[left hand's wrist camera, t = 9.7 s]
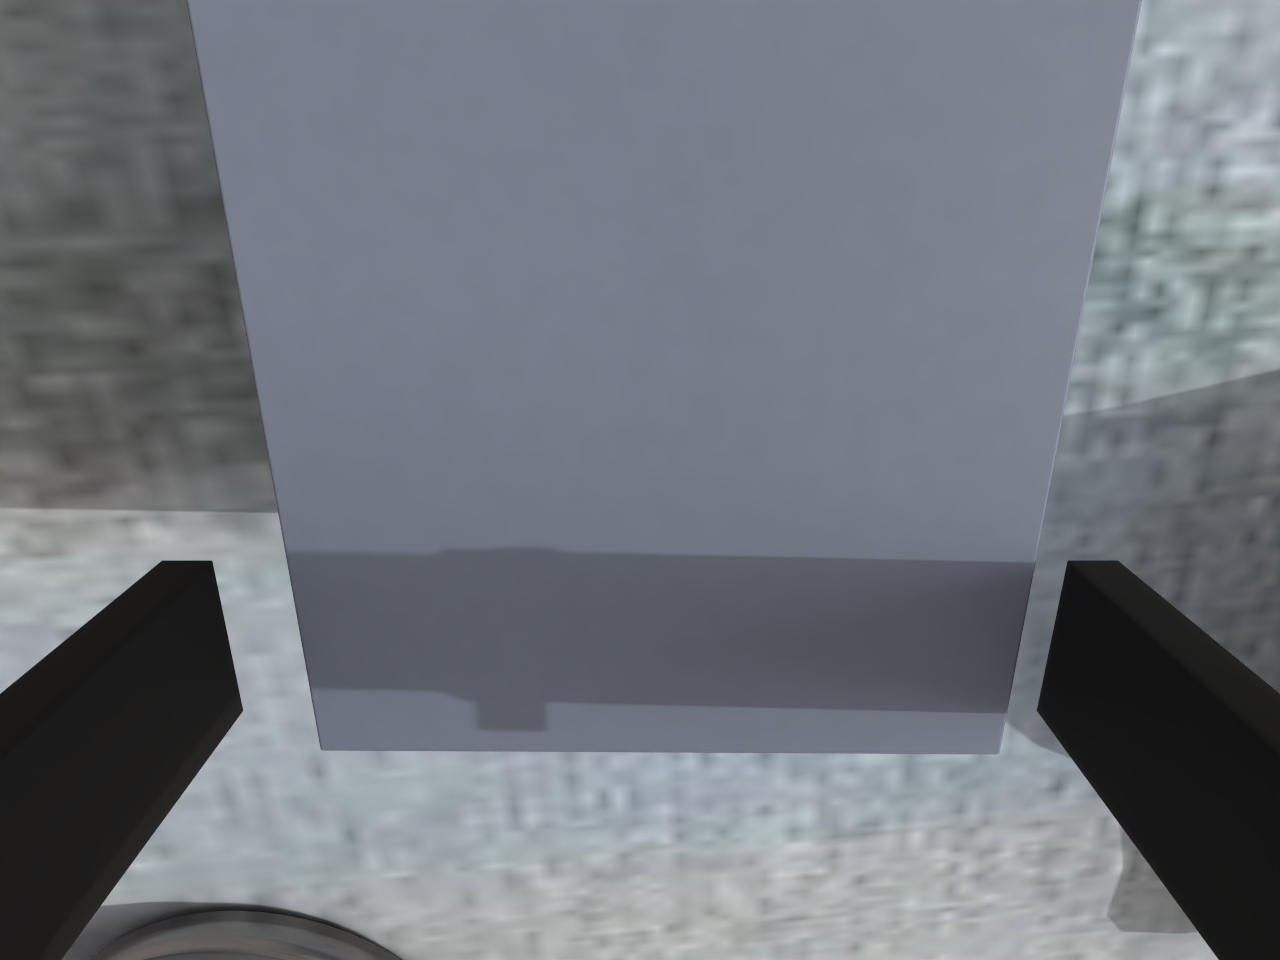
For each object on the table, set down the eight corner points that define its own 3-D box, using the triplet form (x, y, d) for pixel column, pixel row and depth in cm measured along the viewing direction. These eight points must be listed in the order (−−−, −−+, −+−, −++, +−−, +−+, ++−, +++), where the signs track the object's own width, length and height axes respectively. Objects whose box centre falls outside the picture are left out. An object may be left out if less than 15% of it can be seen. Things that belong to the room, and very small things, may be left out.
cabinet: (379, -242, 17) (55, -718, 8) (938, -249, 16) (1286, -746, 7) (452, 516, 23) (320, 751, 14) (861, 517, 23) (1000, 756, 14)
